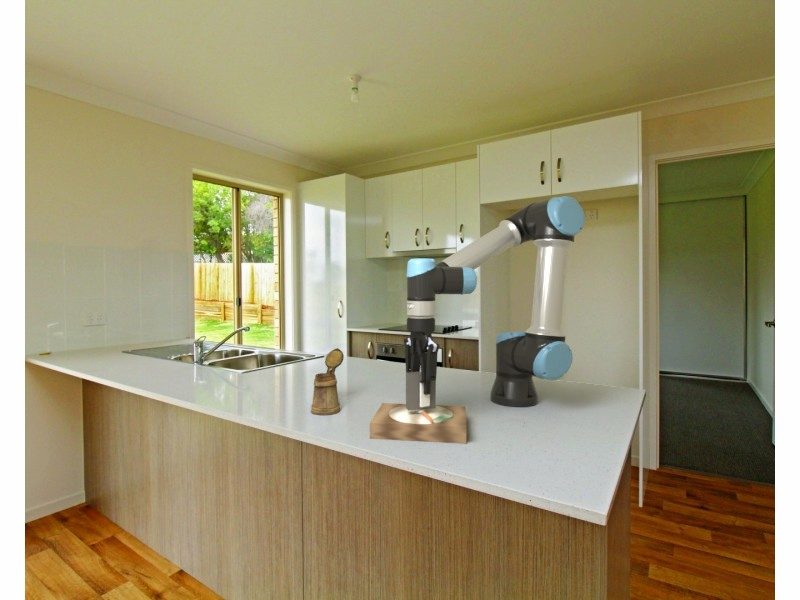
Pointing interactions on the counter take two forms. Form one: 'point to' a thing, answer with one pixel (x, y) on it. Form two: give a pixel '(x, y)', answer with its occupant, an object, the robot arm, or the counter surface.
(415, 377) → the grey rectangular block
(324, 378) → the wooden mug
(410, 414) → the board
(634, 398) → the counter surface
